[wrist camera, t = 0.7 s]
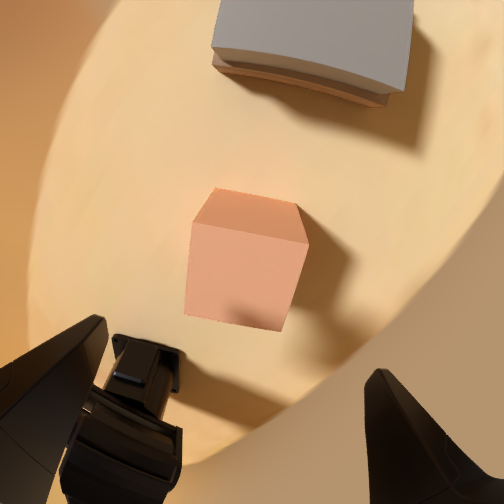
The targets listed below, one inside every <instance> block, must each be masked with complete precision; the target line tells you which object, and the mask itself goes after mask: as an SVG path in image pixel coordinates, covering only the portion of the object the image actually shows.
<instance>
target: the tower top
mask: <svg viewBox="0 0 504 504" xmlns="http://www.w3.org/2000/svg"><path fill="white" fill-rule="evenodd" d="M413 7H414V0H221V3H220V7H219V12H218V16H217V20H216V25H215V29H214V34H213V39H212V44H211V47H212V49H213V50H214V51H215V52H216V54H217V55H218V56H219V58H220V59H221V60H223V61H233V62H241V63H249V64H256V65H263V66H269V67H275V68H281V69H286V70H291V71H296V72H301V73H305V74H310V75H314V76H318V77H322V78H326V79H330V80H333V81H337V82H341V83H344V84H347V85H351V86H354V87H357V88H360V89H363V90H366V91H369V92H372V93H375V94H378V95H379V94H387V93H395V92H404V89H405V83H406V76H407V69H408V62H409V54H410V45H411V35H412V23H413Z"/></svg>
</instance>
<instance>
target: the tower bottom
mask: <svg viewBox="0 0 504 504" xmlns="http://www.w3.org/2000/svg"><path fill="white" fill-rule="evenodd" d="M212 65H213V66H214V67H215V68H216V69H217V70H218V71H219V72H223V73H230V74H237V75H244V76H250V77H256V78H262V79H267V80H272V81H277V82H282V83H287V84H291V85H296V86H300V87H304V88H308V89H312V90H316V91H319V92H323V93H326V94H330V95H333V96H337V97H340V98H343V99H346V100H350V101H353V102H356V103H359V104H362V105H364V106H367V107H386V104H387V99H388V95H389V93H387V94H379V95H378V94H375V93H372V92H369V91H366V90H363V89H360V88H357V87H354V86H351V85H347V84H344V83H341V82H337V81H333V80H330V79H326V78H322V77H318V76H314V75H310V74H305V73H301V72H296V71H291V70H286V69H281V68H275V67H269V66H263V65H256V64H249V63H241V62H233V61H223V60H221V59H220V58H219V56H218V55H217V54H216V52H214V57H213V61H212Z"/></svg>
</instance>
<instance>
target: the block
mask: <svg viewBox="0 0 504 504" xmlns="http://www.w3.org/2000/svg"><path fill="white" fill-rule="evenodd" d="M308 248H309V242H308V239H307V235H306V232H305V229H304V226H303V223H302V220H301V217H300V214H299V211H298V208H297V205H296V204H295V203H291V202H286V201H281V200H277V199H272V198H267V197H262V196H257V195H252V194H247V193H241V192H236V191H230V190H225V189H219V188H215V189H214V191H213V192H212V193H211V195H210V196H209V198H208V199H207V201H206V202H205V204H204V205H203V207H202V208H201V210H200V211H199V213H198V214H197V216H196V217H195V219H194V220H193V222H192V230H191V239H190V249H189V259H188V270H187V282H186V294H185V308H184V314H186V315H190V316H195V317H200V318H205V319H210V320H215V321H220V322H225V323H231V324H236V325H242V326H247V327H253V328H259V329H265V330H272V331H278V332H281V331H282V328H283V325H284V322H285V319H286V316H287V313H288V310H289V308H290V305H291V302H292V299H293V295H294V292H295V289H296V286H297V283H298V280H299V277H300V274H301V271H302V267H303V264H304V261H305V258H306V254H307V251H308Z"/></svg>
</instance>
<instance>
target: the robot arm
mask: <svg viewBox="0 0 504 504" xmlns="http://www.w3.org/2000/svg"><path fill="white" fill-rule="evenodd" d="M108 338H109V334H108V328H107V322H106V319H105V318H104V317H102V316H99V315H96V314H93V315H91V316H89V317H87V318H86V319H84V320H82V321H80V322H79V323H77V324H75V325H73V326H72V327H70V328H68V329H66V330H65V331H63V332H61V333H60V334H58V335H56V336H54V337H53V338H51V339H49V340H47V341H46V342H44V343H42V344H41V345H39V346H37V347H35V348H34V349H32V350H30V351H29V352H27V353H25V354H24V355H22V356H20V357H19V358H17V359H15V360H14V361H13V362H10V363H8V364H7V365H5V366H4V367H2V368H0V504H46V502H47V498H48V495H49V492H50V489H51V486H52V483H53V480H54V477H55V476H54V475H55V474H56V471H57V468H58V465H59V463H60V460H61V457H62V454H63V452H64V449H65V447H66V448H67V450H66V453H65V455H64V458H63V460H62V463H61V466H60V468H59V476H60V484H61V489H62V492H63V494H65V496H66V499H67V502H68V504H163V501H164V499H165V497H166V495H167V493H168V492H170V491H171V490H172V489H173V488H174V487H175V485H176V484H177V482H178V479H179V477H180V473H181V469H182V434H183V429H182V428H180V427H178V426H176V427H175V426H173V425H171V424H168V423H166V422H164V421H162V419H163V415H164V412H165V408H166V405H167V401H168V398H169V394H170V392H172V393H178V392H179V389H180V352H179V351H178V350H176V349H172V348H168V347H164V346H160V345H156V344H152V343H148V342H144V341H140V340H136V339H133V338H129V337H126V336H122V335H119V334H114V335H113V337H112V344H113V349H114V354H115V359H116V361H115V363H114V365H113V368H112V370H111V372H110V374H109V376H108V378H107V380H106V382H105V384H104V386H103V388H102V389H101V388H99V387H97V386H96V385H94V383H93V381H94V379H95V376H96V374H97V371H98V368H99V365H100V362H101V359H102V356H103V353H104V351H105V348H106V345H107V342H108ZM174 354H175V355H174ZM364 399H365V400H364V403H365V434H366V445H367V456H368V471H369V491H370V504H504V479H498V478H494V477H491V476H489V475H487V474H486V473H485V472H484V471H483V470H482V469H481V468H480V467H478V465H476V464H475V463H474V462H473V461H472V460H471V459H470V458H469V457H468V456H467V455H466V454H465V453H464V452H463V451H462V450H461V449H460V448H459V447H458V446H457V445H456V444H455V443H454V442H453V441H452V439H451V438H450V437H449V436H448V435H446V433H445V432H444V430H443V429H442V428H441V427H440V426H439V425H438V424H437V423H436V422H435V420H434V419H433V418H432V417H431V416H430V415H429V414H428V413H427V411H426V410H425V409H424V408H423V407H422V406H421V405H420V404H419V403H418V402H417V400H416V399H415V398H414V397H413V396H412V395H411V394H410V393H409V392H408V391H407V389H406V388H405V387H404V386H403V385H402V384H401V383H400V382H399V381H398V380H397V379H396V378H395V376H394V375H393V374H392V373H391V372H390V371H389V370H388V369H382V368H378V369H376V370H375V371H374V372H373V374H372V375H371V376H370V378H369V379H368V380H367V382H366V383H365V387H364ZM83 408H85V409H87V410H88V411H90V412H88V411H86V410H85V409H83Z"/></svg>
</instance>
